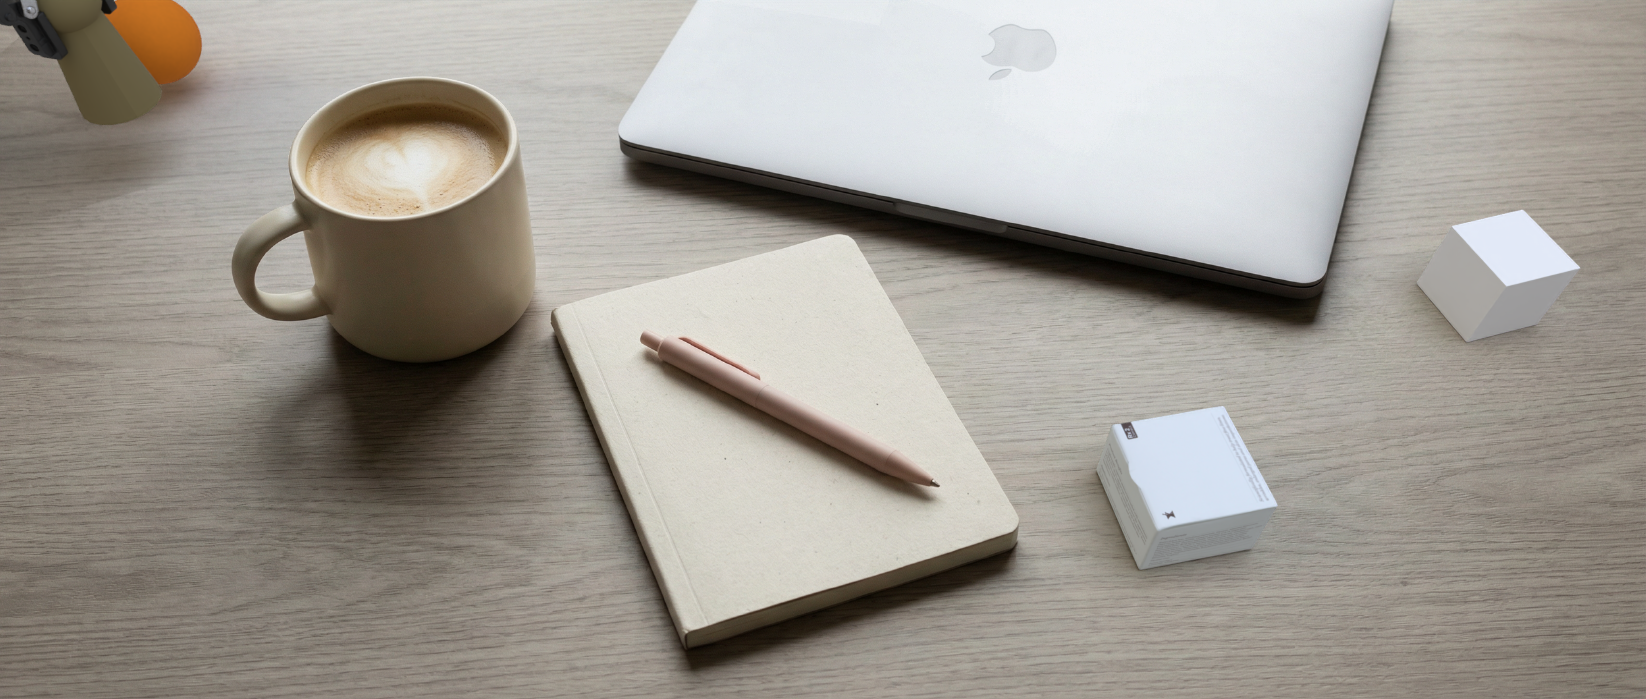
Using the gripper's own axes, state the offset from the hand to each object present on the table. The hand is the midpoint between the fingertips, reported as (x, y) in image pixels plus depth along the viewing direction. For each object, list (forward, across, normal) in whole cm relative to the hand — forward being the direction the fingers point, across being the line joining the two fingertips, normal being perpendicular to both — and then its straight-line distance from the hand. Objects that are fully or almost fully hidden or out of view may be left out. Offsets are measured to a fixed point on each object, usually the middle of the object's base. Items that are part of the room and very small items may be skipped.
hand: (79, 32), depth 84 cm
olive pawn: (+7, 0, 0) cm, 7 cm away
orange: (+8, -9, -4) cm, 12 cm away
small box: (+12, +15, +84) cm, 86 cm away
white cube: (+12, -8, +105) cm, 106 cm away
